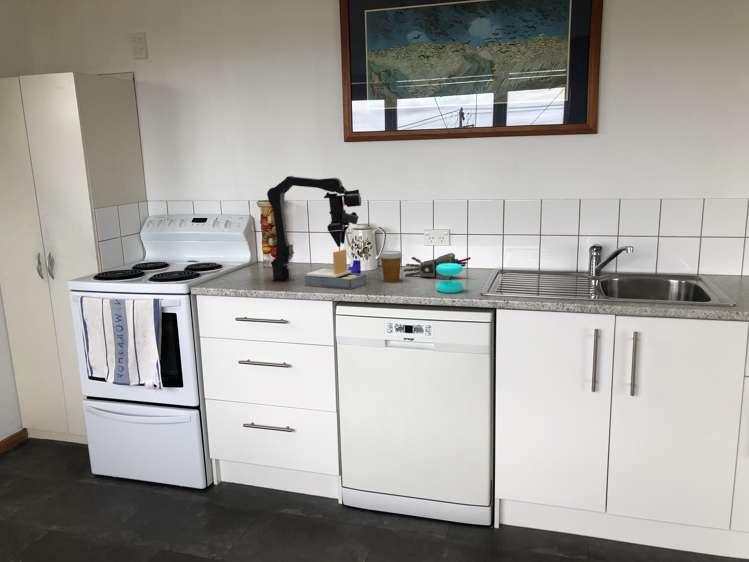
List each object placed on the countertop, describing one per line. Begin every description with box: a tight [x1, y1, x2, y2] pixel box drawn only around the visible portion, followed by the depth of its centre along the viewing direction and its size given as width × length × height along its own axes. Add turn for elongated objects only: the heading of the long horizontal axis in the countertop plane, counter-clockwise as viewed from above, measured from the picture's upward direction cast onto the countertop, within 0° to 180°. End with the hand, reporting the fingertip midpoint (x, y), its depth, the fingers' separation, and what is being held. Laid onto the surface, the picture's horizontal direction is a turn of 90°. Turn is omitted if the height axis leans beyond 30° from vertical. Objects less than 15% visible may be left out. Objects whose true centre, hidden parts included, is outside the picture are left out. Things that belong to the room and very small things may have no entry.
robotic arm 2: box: [403, 252, 472, 280], centre depth 250 cm, size 10×8×30 cm
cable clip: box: [347, 259, 362, 274], centre depth 262 cm, size 12×4×6 cm, turn 143°
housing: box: [304, 273, 367, 291], centre depth 242 cm, size 22×12×4 cm, turn 61°
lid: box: [306, 249, 351, 278], centre depth 242 cm, size 14×12×10 cm
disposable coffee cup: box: [379, 250, 403, 283], centre depth 246 cm, size 10×10×12 cm
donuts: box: [435, 263, 464, 294], centre depth 224 cm, size 10×10×10 cm
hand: (341, 245), depth 250 cm, fingers open, 9 cm apart
